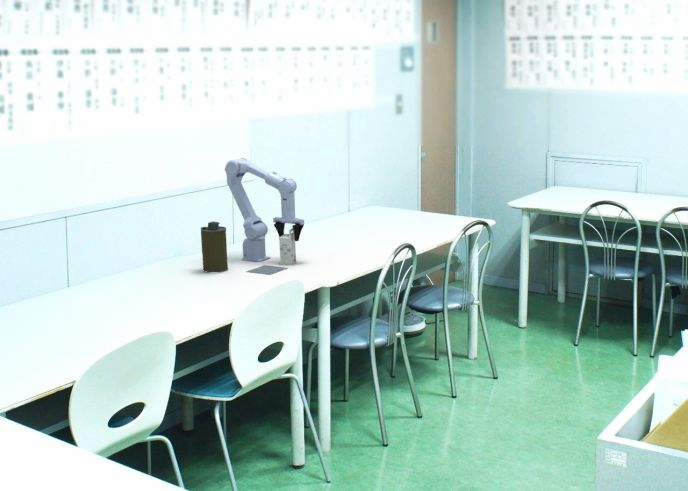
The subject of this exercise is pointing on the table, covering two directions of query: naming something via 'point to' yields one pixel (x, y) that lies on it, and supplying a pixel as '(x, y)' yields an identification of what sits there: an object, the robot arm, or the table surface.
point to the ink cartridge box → (287, 248)
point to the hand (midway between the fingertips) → (289, 240)
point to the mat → (267, 270)
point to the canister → (214, 248)
